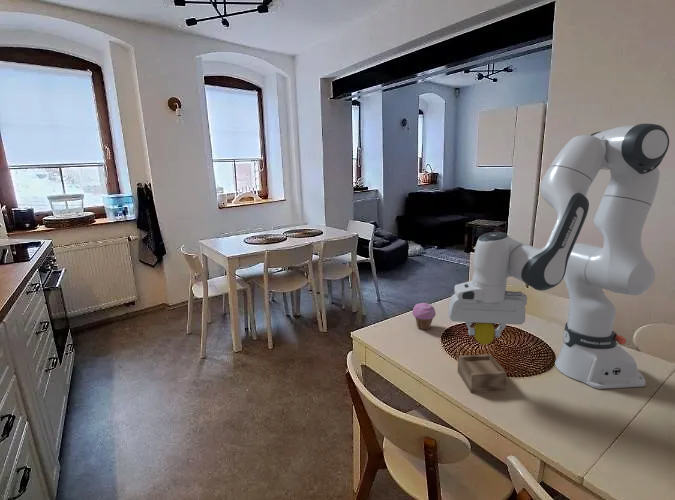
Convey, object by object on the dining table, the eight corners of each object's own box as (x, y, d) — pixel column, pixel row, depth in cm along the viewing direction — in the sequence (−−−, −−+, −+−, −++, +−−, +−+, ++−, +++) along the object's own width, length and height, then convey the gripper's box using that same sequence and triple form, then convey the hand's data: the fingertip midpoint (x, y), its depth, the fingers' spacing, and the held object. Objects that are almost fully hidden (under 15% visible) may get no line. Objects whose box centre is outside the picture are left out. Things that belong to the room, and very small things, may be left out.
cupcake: (434, 334, 135) (435, 309, 132) (410, 331, 138) (411, 307, 135) (435, 323, 143) (436, 300, 141) (413, 321, 146) (414, 298, 143)
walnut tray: (488, 371, 112) (490, 353, 110) (504, 391, 102) (506, 372, 101) (457, 372, 112) (458, 355, 110) (470, 393, 102) (472, 375, 100)
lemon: (495, 350, 101) (497, 324, 98) (474, 349, 102) (476, 323, 100) (491, 341, 106) (493, 316, 104) (471, 339, 107) (473, 314, 105)
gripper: (523, 287, 101) (518, 332, 104) (449, 285, 104) (446, 328, 107) (532, 296, 95) (526, 343, 98) (452, 293, 98) (449, 338, 101)
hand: (483, 335), depth 103 cm, fingers closed on lemon, 5 cm apart
